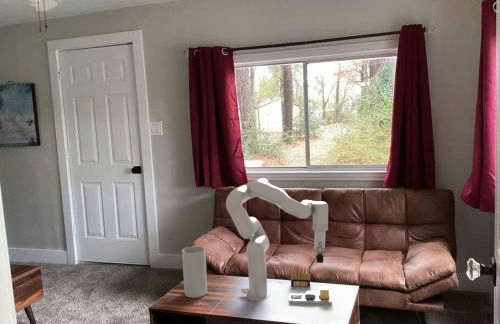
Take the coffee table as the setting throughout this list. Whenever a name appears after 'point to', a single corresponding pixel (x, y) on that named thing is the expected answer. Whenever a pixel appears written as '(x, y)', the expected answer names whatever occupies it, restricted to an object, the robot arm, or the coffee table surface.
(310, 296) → the grey brushed cube
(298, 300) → the rail
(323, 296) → the gold brushed block
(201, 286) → the cylinder vase
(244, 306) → the coffee table surface
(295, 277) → the ammunition clip
